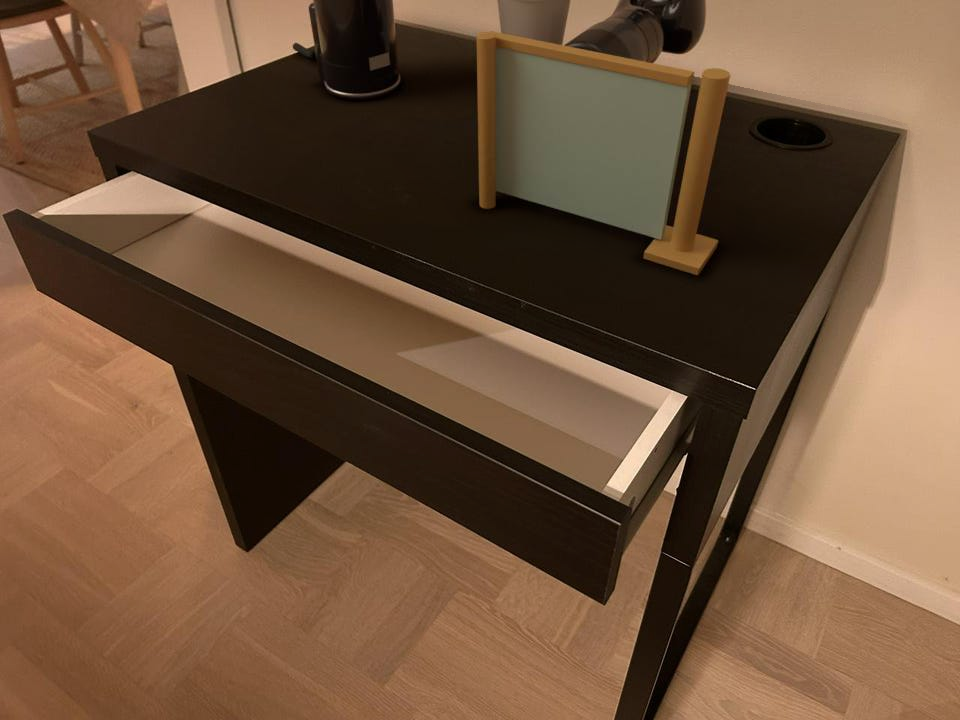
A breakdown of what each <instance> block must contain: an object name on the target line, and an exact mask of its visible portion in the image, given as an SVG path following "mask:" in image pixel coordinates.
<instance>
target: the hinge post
mask: <svg viewBox="0 0 960 720" xmlns="http://www.w3.org/2000/svg"><path fill="white" fill-rule="evenodd" d="M730 79H731V73H730V72H729V71H728V70H726V69H723V68H717V67H716V68H715V67H712V68H711V67H710V68H706V69H704V70H703V71H702V74H701V79H700V84H699V90H698V95H697V99H696V100H697V101H696V105H695V110H694V115H693V120H692V127H691V131H690V132H691V133H690V138H689V142H688V147H687V153H686V158H685V163H684V170H683V175H682V180H681V185H680V186H681V187H680V190H679V195H678V200H677V206H676V212H675V216H674V222H673V226H670V225H667V224H666V229H665V235H664V237H663V238H662V239H661V240H660V239H657V238H654V239H652V241H651V242H650V244H649V245H648V246H647V247H646V249H645V250H644V252H643V258H642V259H644V260H646V261H650V262H654V263H656V264H659V265H663V266H665V267H668V268H672V269H674V270H675V269H676V270H679V271H682V272H684V273H688V274H692V275H694V276H699V275H700V274H701V272H702V271H703V269H704V267H705V266H706V264H707V263H708V261H709V260H710V258H711V257H712V255H713V254H714V253H715V251H716V250H717V248H718V244H719V240H718V239H715V238H713V237H709V236H706V235H702V234H699V233H698V227H699V223H700V218H701V215H702V211H703V205H704V200H705V195H706V191H707V186H708V182H709V176H710V172H711V168H712V163H713V158H714V154H715V150H716V149H715V148H716V144H717V139H718V135H719V130H720V125H721V121H722V116H723V111H724V108H725V107H724V106H725V102H726V97H727V92H728V87H729V83H730Z"/></svg>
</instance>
